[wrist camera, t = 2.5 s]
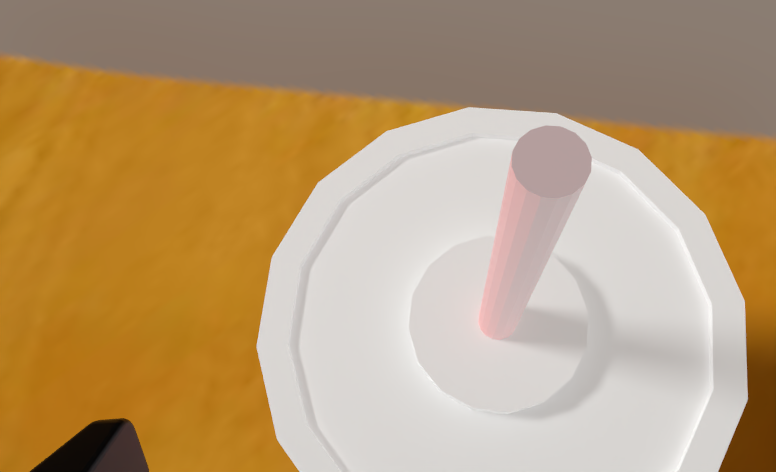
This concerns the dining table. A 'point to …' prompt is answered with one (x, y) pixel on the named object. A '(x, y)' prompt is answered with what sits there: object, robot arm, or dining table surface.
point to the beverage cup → (502, 309)
